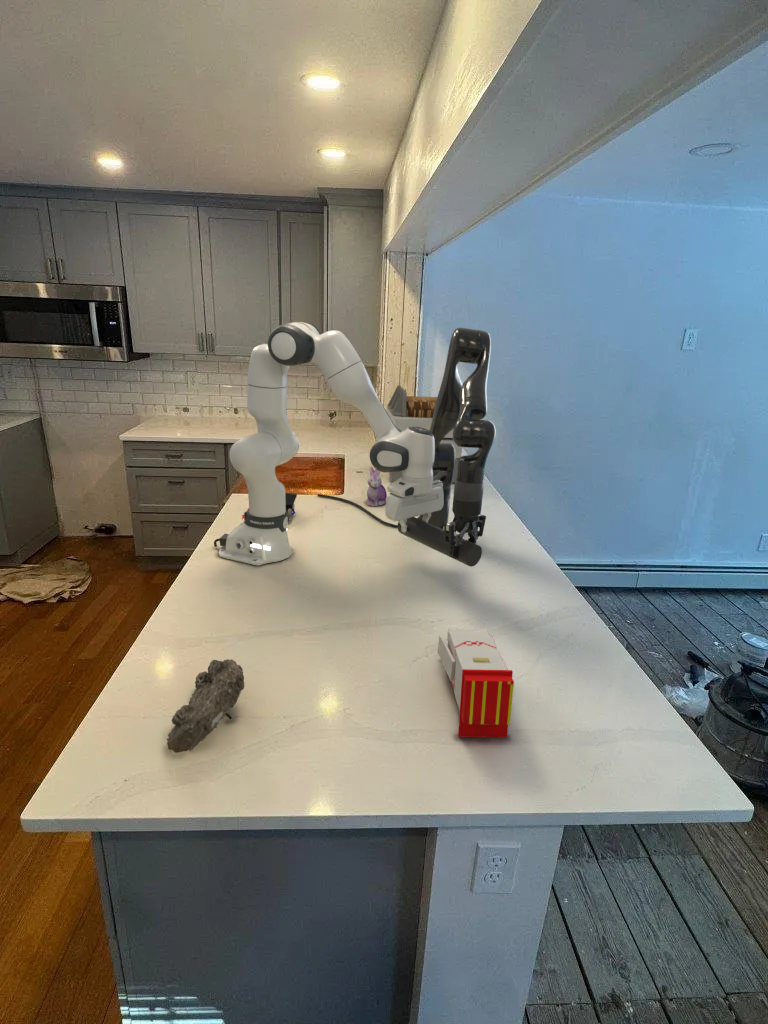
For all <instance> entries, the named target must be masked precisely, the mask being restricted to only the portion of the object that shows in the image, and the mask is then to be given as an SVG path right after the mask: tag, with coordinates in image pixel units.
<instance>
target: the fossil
mask: <svg viewBox="0 0 768 1024" xmlns="http://www.w3.org/2000/svg"><path fill="white" fill-rule="evenodd" d="M243 670H244V669H243V667H242V665H240V664H237V662H236V661H235V660H234V659H232V658H231V659H227V658H226V659H224V660H223V661H222V660H217V659H212V660H211V661H210V663H209V665H208V666H207V671H201V672H199V673H198V674H197V675H196V676H195V680H194V684H195V685H194V687H195V689H194V690H193V693H192V694H191V697H190V698H189V700H188V704H184V705H182V706H181V707H180V709H177V710H176V711H175V713H174V715H173V716H172V718H171V723H172V724H173V727H172V730H171V731H170V732H168V734H167V738H166V741H167V742H166V745H167V749H168V750H169V751H173V752H174V753H176V754H178V753H182V752H188V751H189V752H192V751H193V750H195V748H196V747H197V746H199V744H200V743H201V742H203V741H204V740H205V739H206V738H207V737H208V736H209V735H210V734H211V733H212V732H214V730H215V729H217V727H218V726H219V724H220V722H221V721H222V720H223V719H224V718H225V716H226V717H227V719H229V720H233V717H232V715H230V714H229V710H230V709H231V708H234V706H235V704H236V703H237V702H238V699H239V697H240V695H241V693H242V691H243V690H245V689H244V688H245V675H244V671H243Z"/></svg>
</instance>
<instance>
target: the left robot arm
mask: <svg viewBox="0 0 768 1024" xmlns="http://www.w3.org/2000/svg"><path fill="white" fill-rule="evenodd" d="M320 330H321V329H319V327H317V326H316V325H314V324H313V323H311V322H308V321H291V322H289V323H284V324H281V325H278V326H277V327H275V328H274V329H273V330H272V331H271V333H270V334H269V336H268V339H267V343H261V344H259V345H257V346H255V347H254V348H253V349H252V351H251V353H250V358H249V361H248V362H249V363H248V370H247V396H246V397H247V401H246V408H247V411H248V413H249V415H250V416H251V417H252V418H254V419H255V423H256V426H257V432H256V433H252V434H250V435H246V436H243V437H242V438H240V439H239V440H237V441H236V442H234V443H233V444H232V445H231V447H230V449H229V461H230V464H231V465H232V467H233V468H234V470H235V471H236V472H238V473H239V474H240V475H241V476H242V477H243V479H244V482H245V485H246V488H247V496H248V508H247V510H246V511H245V512H243V514H242V515H241V520H243V519H244V520H243V522H241V523H240V524H238V525H237V526H236V527H234V528H233V529H232V530H231V531H229V533H224V534H223V535H221V537H219V538H216V539H214V541H213V546H214V548H217V547H218V543H217V542H219V546H220V548H219V550H218V557H220V558H224V559H227V560H232V561H235V562H236V561H237V562H240V563H245V564H249V565H252V566H263V565H265V564H269V563H276V562H281V561H283V560H284V561H285V560H286V559H288V558H289V557H291V555H292V554H293V550H292V547H291V545H290V542H289V536H288V526H289V522H288V518H287V510H286V500H285V493H286V487H285V485H284V484H283V482H281V481H279V480H278V477H277V475H276V467H278V466H281V465H283V464H286V463H288V462H289V461H290V460H292V459H293V458H294V457H295V456H296V455H297V454H298V453H299V450H300V442H299V438H298V436H297V435H296V434H295V432H294V431H293V430H292V428H291V426H290V423H289V418H288V410H287V405H288V403H287V402H288V373H289V369H290V367H293V366H299V365H303V364H309V363H313V364H315V365H316V366H317V367H318V368H319V370H320V371H321V373H322V375H323V376H324V379H325V380H326V383H327V384H328V386H329V388H330V390H331V391H332V393H333V394H334V395H335V396H336V398H338V400H339V401H340V402H343V403H344V404H348V405H351V406H352V407H355V408H356V409H358V410H359V411H360V412H361V414H362V415H363V416H364V418H365V420H366V421H367V423H368V425H369V427H370V428H371V430H372V432H373V433H374V435H375V439H376V442H375V443H374V444H373V445H372V446H371V448H370V450H369V461H370V464H371V465H372V466H373V468H374V469H375V470H376V469H377V470H379V471H380V473H381V472H382V473H390V472H398V471H402V477H400V478H399V479H397V480H396V481H394V482H391V483H389V484H388V485H387V493H388V494H387V497H386V503H385V509H384V510H385V511H384V513H385V517H386V519H387V520H389V521H391V522H394V523H395V522H399V523H400V524H401V531H402V532H404V533H405V532H408V531H409V526H407V525H406V523H405V522H407V518H411V517H415V518H416V517H419V515H423V514H424V516H423V519H422V521H425V522H427V523H428V520H429V518H430V517H431V512H435V511H438V510H441V509H442V508H443V505H444V494H443V483H442V482H441V481H440V480H435V481H433V476H434V471H433V470H432V467H433V463H434V459H435V440H434V436H433V434H432V433H431V432H430V431H429V430H427V429H425V428H421V427H414V426H412V427H408V428H407V429H406V430H404V431H401V430H400V429H398V428H397V427H396V426H395V425H394V423H393V422H392V420H391V418H390V417H389V415H388V413H387V409H386V407H385V406H384V404H383V402H382V401H381V400H380V398H379V396H378V394H377V392H376V390H375V388H374V385H373V383H372V381H371V378H370V376H369V374H368V371H367V369H366V367H365V365H364V363H363V361H362V359H361V357H360V356H359V353H358V352H357V351H356V349H355V347H354V346H353V344H352V343H351V342H350V339H348V338H347V336H346V335H345V334H344V333H343V332H342V331H340V330H335V329H334V330H333V329H332V330H328V331H324V332H323V333H322V332H321V331H320Z"/></svg>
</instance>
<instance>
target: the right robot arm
mask: <svg viewBox="0 0 768 1024" xmlns="http://www.w3.org/2000/svg"><path fill="white" fill-rule="evenodd" d="M491 350H492V340H491V335H490V333H489V332H488V331H485V330H481V329H474V328H468V327H456V328H454V330H453V331H452V333H451V337H450V340H449V345H448V350H447V354H446V355H447V356H446V362H445V367H444V372H443V376H442V380H441V384H440V387H439V390H438V394H437V396H436V397H437V400H436V404H435V409H434V413H433V418H432V422H431V426H430V429H429V431H430V432H431V433H432V434H433V436H434V440H435V459H434V463H433V467H432V470H433V472H438V473H436V474H435V475H433V481H435V480H440V481H441V482H442V483H443V494H444V505H443V508H442V509H441V510H438V511H435V512H431V517H430V518H429V520H428V523H429V524H431V525H434V526H436V527H438V528H440V529H443V530H444V542H445V543H447V544H449V545H450V553H449V554H450V557H449V558H451V557H452V558H451V559H453V558H454V559H453V560H455V559H456V558H458V549H459V546H458V545H459V542H460V540H461V539H462V538H463V539H464V537H465V535H466V534H467V535H468V536H467V537H468V538H467V540H468V541H470V542H472V543H475V544H477V540H478V539H479V537H483V536H484V535H483V534H484V530H485V525H486V520H487V516H486V515H484V514H482V505H483V498H484V478H485V470H486V469H485V468H486V463H487V461H488V456H489V454H490V452H491V449H492V446H493V444H494V442H495V439H496V436H497V435H496V433H497V430H496V429H497V428H496V426H495V424H494V423H493V422H492V421H491V420H488V419H487V420H486V419H484V418H485V417H486V416H487V413H488V399H487V398H488V397H487V386H488V376H489V371H490V370H489V369H490V361H491V352H492V351H491ZM459 363H462V364H463V363H464V364H471V365H476V367H475V369H474V370H473V372H471V374H470V375H468V377H467V378H466V379H465V380H464V381H463V382H462V380H461V377H460V374H459V370H458V364H459ZM453 429H454V430H453ZM452 430H453V440H454V442H455V444H456V445H457V446H459V447H462V448H469V449H477V451H476V452H474V453H471V454H467V455H466V454H465V455H461V457H460V458H459V459H458V463H457V474H456V481H455V483H454V487H453V496H452V508H451V511H452V513H453V519H452V521H450V522H449V517H450V516H449V514H450V504H451V494H452V493H451V491H452V484H453V483H452V479H453V471H454V465H455V449H454V446H453V445H452V444H450V443H440V442H441V440H442V439H443V438H444V437H445V436H446V435H447V434H448V433H449V432H450V431H452ZM317 497H320V498H327V499H332V500H337V501H342V502H345V503H347V504H351V505H353V506H355V507H357V508H358V509H360V510H361V511H364V512H365V513H366V514H367V515H369V516H370V517H372V518H373V519H375V520H377V521H378V522H379V523H381V524H383V525H384V526H388V527H391V528H396V529H398V528H397V526H398V524H394V523H390V522H387V521H385V520H383V519H381V518H380V517H378V516H376V515H375V514H373V513H372V512H371V511H369V510H367V509H366V508H365V507H363V506H362V505H360V504H358V503H356V502H354V501H351V500H348V499H345V498H342V497H338V496H334V495H333V496H332V495H328V494H322V493H318V494H317ZM423 516H424V514H423V515H419V516H417V518H418V519H420V520H422V519H423ZM458 533H459V534H458ZM455 537H457V539H456V541H454V539H455ZM449 538H450V539H449Z"/></svg>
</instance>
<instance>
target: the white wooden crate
mask: <svg viewBox="0 0 768 1024" xmlns="http://www.w3.org/2000/svg"><path fill="white" fill-rule="evenodd" d="M407 394H408V393H407V390H406V389H404V388H403V387H402V385H399V384H398V385H397V386H396V388H395V390H394V392H393V394H392V395H391V398H390V400H389V402H388V404H387V405H386V412H387V413H388V415H389V417H390V418H391V420H392V422H393V423H394V425H395V426H396V427H397V428H398V429H400V430H401V431H404V430H406V429H407V428H408V427H412V426H414V427H421V428H425V429H427V430H429V429H430V426H431V422H432V418H433V413H434V409H435V404H436V400H437V397H438V396H415V395H414V396H413V395H412V396H411V395H407ZM453 430H454V429H453ZM453 430H452V431H450V432H449V433H448V434H447V435H446V436H445V437H444V438H443V439H442V440H441V442H440V443H450V444H452V445H453V446H454V449H455V465H454V471H453V479H452V484H455V481H456V474H457V463H458V459H459V458H460V457H462V453H463V447H459V446H457V445H456V444H455V442H454V440H453ZM388 476H389V477H388V478H389V480H390V482H391V483H393V482H394V481H396V480H397V479H399V478H400V477H402V471H398V472H389V475H388Z"/></svg>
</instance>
